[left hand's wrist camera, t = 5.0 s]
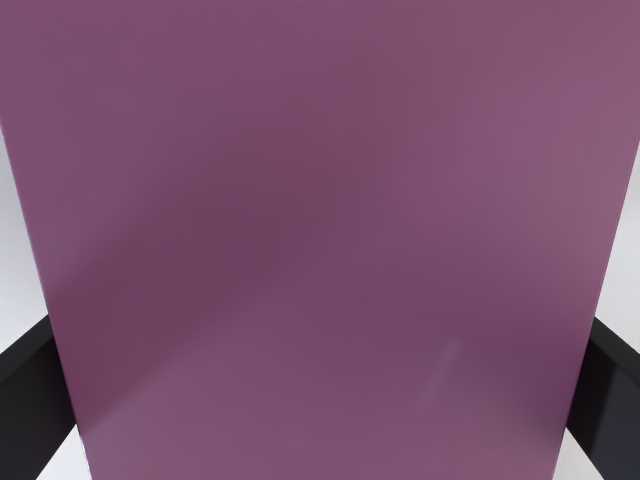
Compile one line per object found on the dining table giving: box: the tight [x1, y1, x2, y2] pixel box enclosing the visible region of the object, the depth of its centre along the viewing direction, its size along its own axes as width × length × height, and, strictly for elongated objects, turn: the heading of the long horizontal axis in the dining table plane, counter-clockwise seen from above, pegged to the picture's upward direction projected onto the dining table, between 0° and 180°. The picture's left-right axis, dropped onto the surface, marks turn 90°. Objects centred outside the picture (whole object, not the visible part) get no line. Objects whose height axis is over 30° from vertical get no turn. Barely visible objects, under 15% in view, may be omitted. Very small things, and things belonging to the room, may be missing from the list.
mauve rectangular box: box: [0, 0, 640, 480], centre depth 14 cm, size 14×11×10 cm
